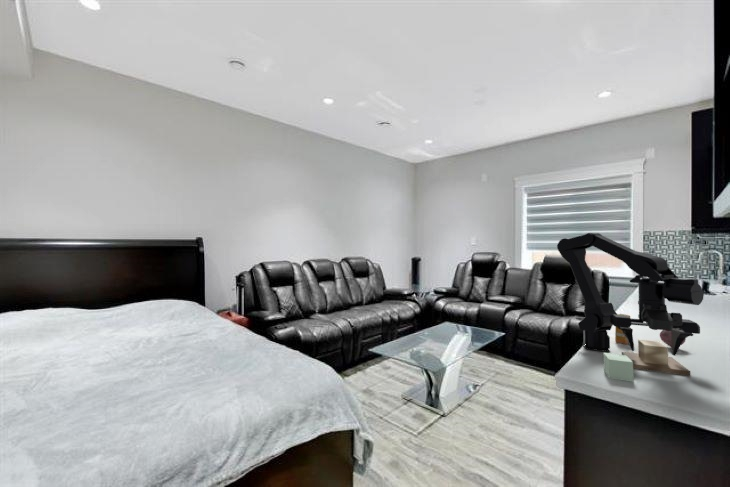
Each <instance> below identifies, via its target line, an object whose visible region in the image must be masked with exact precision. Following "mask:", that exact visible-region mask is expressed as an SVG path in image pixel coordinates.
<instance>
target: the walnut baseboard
mask: <svg viewBox="0 0 730 487" xmlns="http://www.w3.org/2000/svg"><path fill="white" fill-rule="evenodd" d="M621 355H626V356H627V357H628V358H629V359H630V360H631V361H632V362H633V369H636V370H644V371H650V372H651V371H652V372H657V373H658V372H660V373H667V374H676V375H682V376H683V375H684V376H688V377H689V376H691V370H689V368H687V367H685V366H684V365H683V364H681V363H680V362H679V361H677V359H676V358H673V357H672V356H668V365H662V364H653V363H645V362H644V361H643V360H642V359H641V358H640V357H639V355H638V352H637V353H636V352H629V351H621Z"/></svg>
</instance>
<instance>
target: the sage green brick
mask: <svg viewBox="0 0 730 487" xmlns="http://www.w3.org/2000/svg"><path fill="white" fill-rule="evenodd" d="M603 371H604V372H605V374H606V376H607V377H608V378H609V379H612V380H621V381H628V382H634V368H633V362H632V361H631V360H630V359H629V358H628V357H627V356H626V355H622V354H619V353H618V354H617V353H612V352H611V353H609V352H603Z"/></svg>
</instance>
